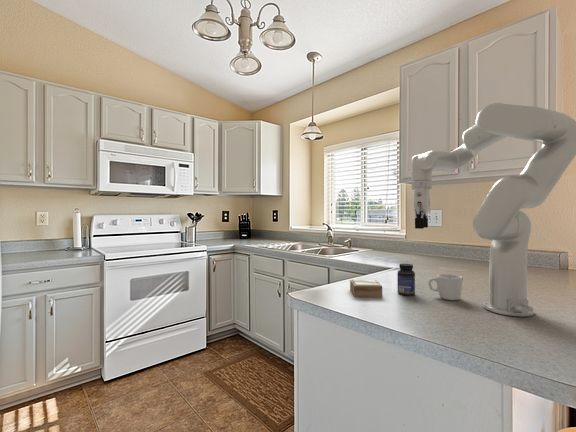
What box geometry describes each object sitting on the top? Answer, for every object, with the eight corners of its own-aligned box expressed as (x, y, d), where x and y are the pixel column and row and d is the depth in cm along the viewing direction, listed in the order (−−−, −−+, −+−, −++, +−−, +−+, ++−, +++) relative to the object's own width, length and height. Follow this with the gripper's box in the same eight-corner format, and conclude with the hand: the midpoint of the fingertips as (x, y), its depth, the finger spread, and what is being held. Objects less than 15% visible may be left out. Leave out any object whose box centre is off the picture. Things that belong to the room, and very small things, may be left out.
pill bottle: (417, 296, 111) (417, 265, 111) (400, 296, 111) (400, 265, 111) (411, 291, 117) (411, 263, 117) (395, 291, 117) (395, 263, 117)
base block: (382, 297, 110) (382, 285, 110) (354, 296, 110) (354, 285, 110) (375, 290, 120) (375, 279, 120) (350, 289, 120) (350, 279, 120)
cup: (427, 299, 107) (427, 276, 107) (429, 293, 114) (429, 272, 114) (463, 303, 102) (463, 279, 102) (462, 297, 109) (462, 275, 109)
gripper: (428, 183, 114) (428, 229, 114) (434, 186, 129) (434, 227, 129) (407, 184, 118) (407, 228, 118) (415, 187, 133) (415, 226, 133)
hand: (421, 227), depth 123 cm, fingers open, 9 cm apart
